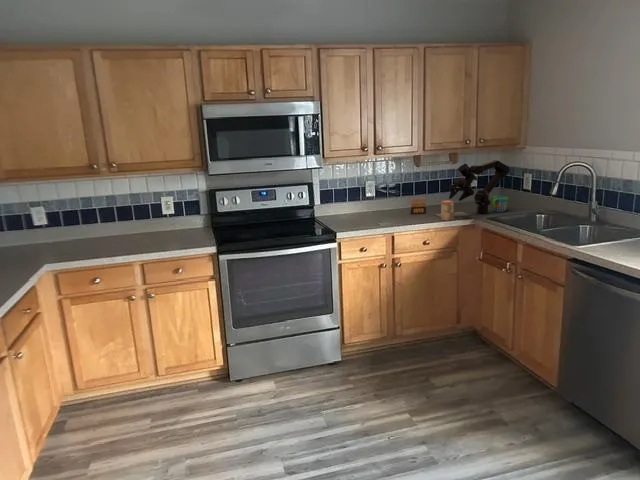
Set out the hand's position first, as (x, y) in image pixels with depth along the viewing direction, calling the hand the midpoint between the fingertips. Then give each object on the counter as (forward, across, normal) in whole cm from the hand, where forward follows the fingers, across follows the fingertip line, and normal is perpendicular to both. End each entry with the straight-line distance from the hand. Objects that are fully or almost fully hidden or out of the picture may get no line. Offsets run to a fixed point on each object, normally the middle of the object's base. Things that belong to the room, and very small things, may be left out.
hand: (454, 199), depth 334 cm
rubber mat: (+6, -7, +12) cm, 15 cm away
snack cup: (-19, +2, +37) cm, 41 cm away
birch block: (+13, 0, +5) cm, 14 cm away
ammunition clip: (+15, -27, +3) cm, 31 cm away
